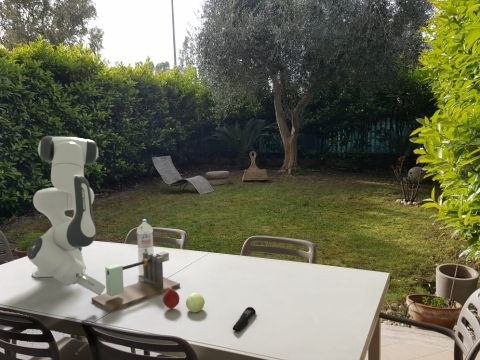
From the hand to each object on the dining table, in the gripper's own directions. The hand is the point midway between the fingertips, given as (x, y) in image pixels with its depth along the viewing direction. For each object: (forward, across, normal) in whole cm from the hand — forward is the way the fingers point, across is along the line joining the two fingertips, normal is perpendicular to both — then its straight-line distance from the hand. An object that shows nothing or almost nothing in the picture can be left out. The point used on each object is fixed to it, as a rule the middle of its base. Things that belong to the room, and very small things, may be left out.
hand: (99, 290), depth 144 cm
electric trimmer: (+24, -47, -14) cm, 55 cm away
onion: (+16, -21, -7) cm, 27 cm away
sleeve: (+7, 0, -2) cm, 7 cm away
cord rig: (+16, 0, -7) cm, 17 cm away
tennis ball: (+20, -28, -10) cm, 36 cm away
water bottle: (+26, +16, -17) cm, 35 cm away
